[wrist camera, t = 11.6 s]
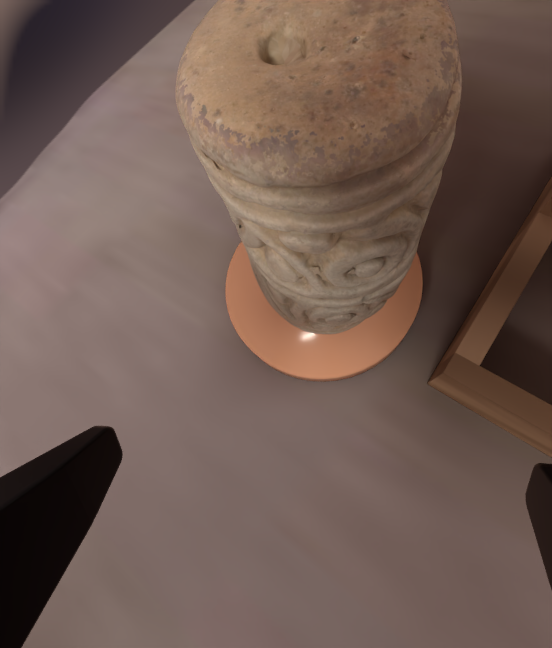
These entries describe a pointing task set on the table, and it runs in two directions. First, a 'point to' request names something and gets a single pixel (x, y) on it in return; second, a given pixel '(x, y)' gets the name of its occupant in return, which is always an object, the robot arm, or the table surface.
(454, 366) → the cold frame
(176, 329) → the table surface
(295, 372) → the terracotta saucer
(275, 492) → the table surface
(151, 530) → the table surface
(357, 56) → the carving
